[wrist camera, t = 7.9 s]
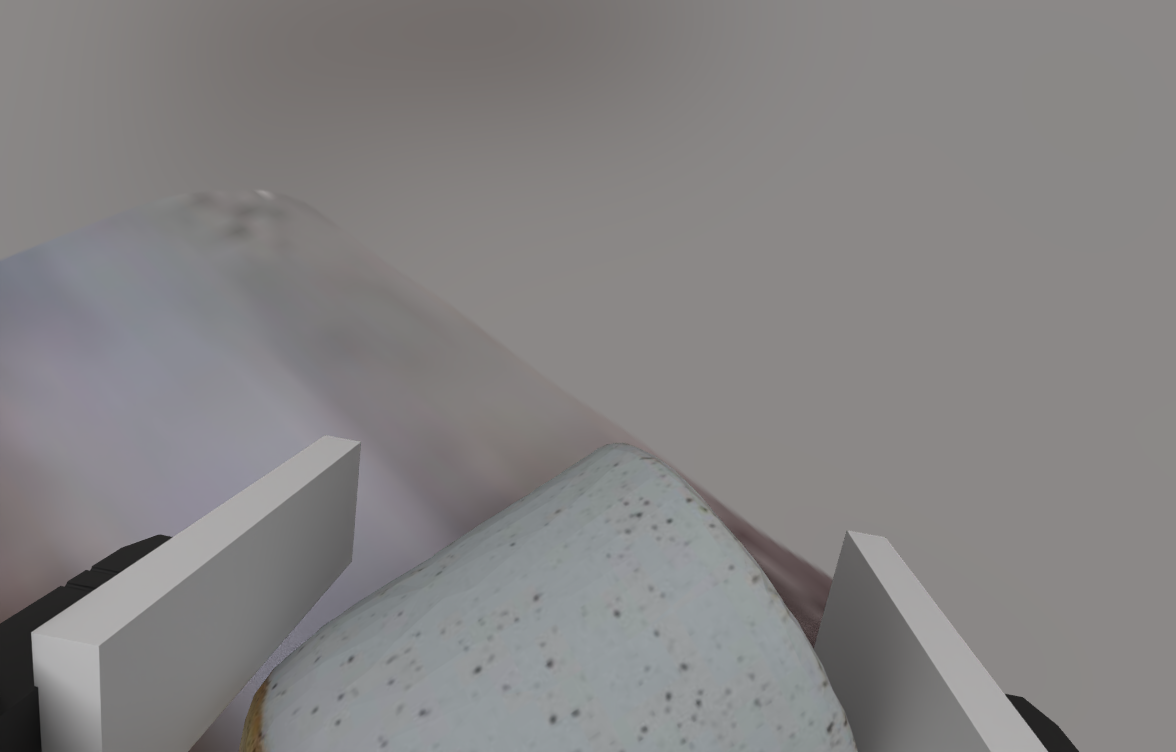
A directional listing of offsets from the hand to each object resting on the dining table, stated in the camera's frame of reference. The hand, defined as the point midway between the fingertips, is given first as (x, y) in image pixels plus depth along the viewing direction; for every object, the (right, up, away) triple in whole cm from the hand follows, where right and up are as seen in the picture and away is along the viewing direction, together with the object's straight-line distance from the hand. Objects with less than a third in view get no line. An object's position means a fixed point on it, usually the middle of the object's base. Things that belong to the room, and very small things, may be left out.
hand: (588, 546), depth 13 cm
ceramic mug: (0, -6, +1) cm, 6 cm away
